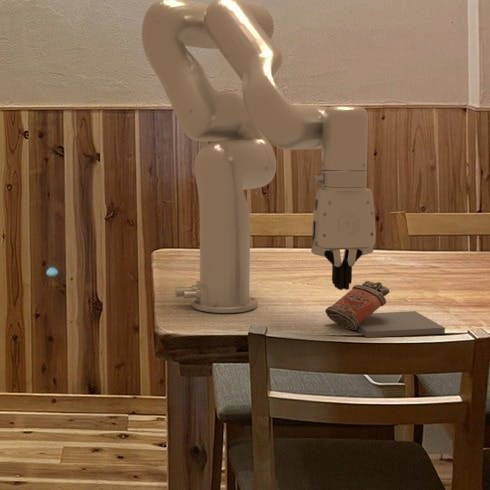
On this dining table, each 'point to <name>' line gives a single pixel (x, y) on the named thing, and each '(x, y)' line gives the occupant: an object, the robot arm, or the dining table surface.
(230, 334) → the dining table surface
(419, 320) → the mat
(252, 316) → the dining table surface
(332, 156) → the robot arm
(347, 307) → the lighter
